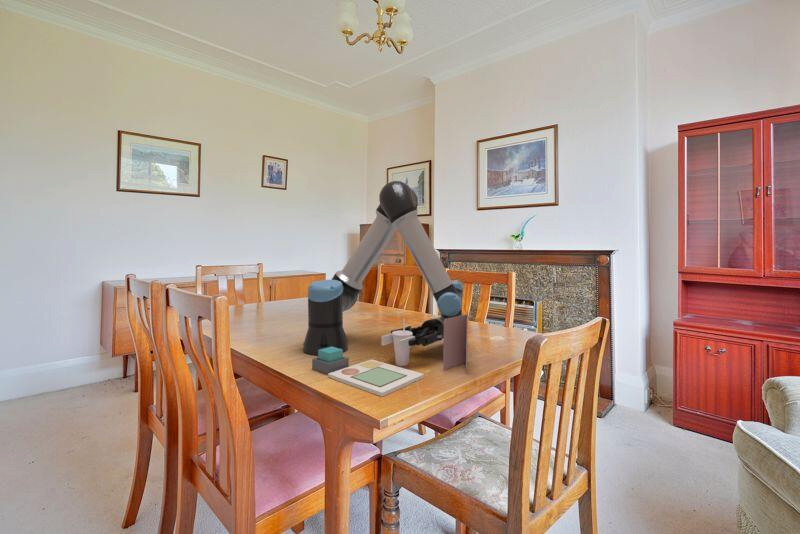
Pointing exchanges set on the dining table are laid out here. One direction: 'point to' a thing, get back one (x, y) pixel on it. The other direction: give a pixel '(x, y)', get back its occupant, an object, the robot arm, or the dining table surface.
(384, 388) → the picture board
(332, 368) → the button housing
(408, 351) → the smoothie
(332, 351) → the button
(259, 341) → the dining table surface
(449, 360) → the greeting card
